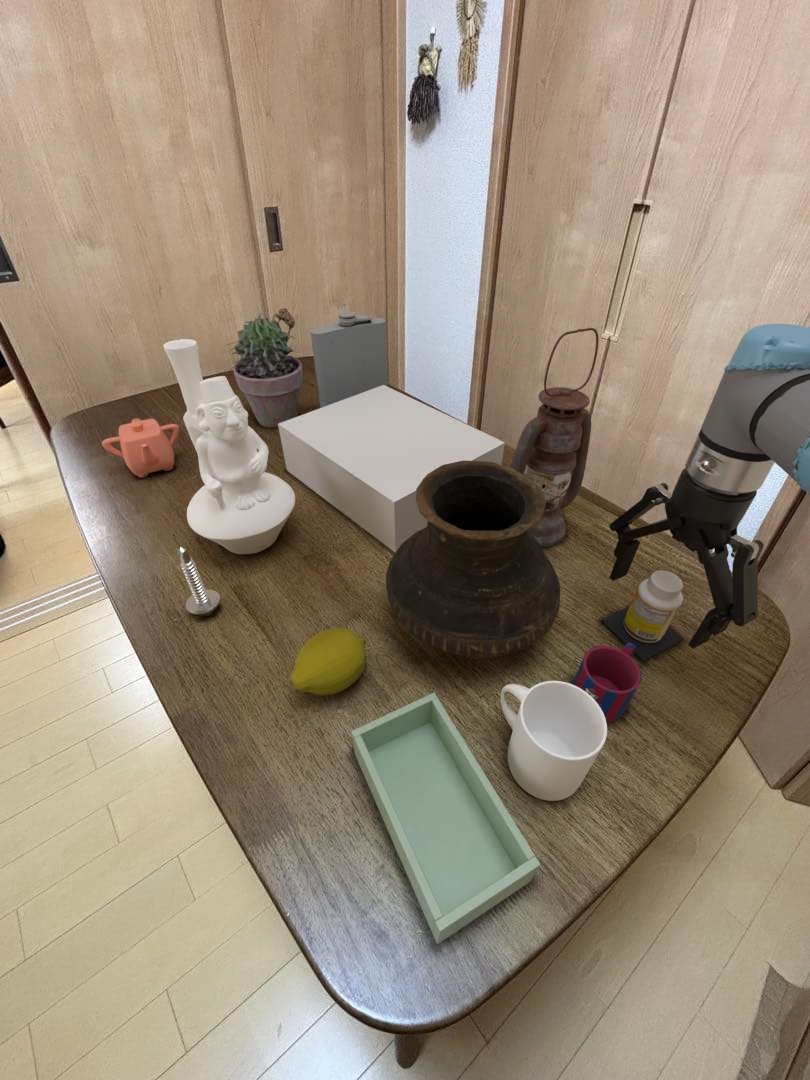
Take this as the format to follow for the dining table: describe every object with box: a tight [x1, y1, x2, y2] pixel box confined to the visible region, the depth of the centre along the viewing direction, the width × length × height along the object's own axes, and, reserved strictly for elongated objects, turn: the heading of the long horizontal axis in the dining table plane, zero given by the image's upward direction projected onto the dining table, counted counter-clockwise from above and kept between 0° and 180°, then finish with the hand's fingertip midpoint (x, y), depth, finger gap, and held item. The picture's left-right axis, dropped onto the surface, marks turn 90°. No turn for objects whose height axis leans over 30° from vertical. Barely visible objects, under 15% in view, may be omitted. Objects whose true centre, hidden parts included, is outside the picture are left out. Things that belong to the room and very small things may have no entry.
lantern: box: [509, 327, 599, 549], centre depth 76 cm, size 11×16×35 cm
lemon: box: [289, 626, 367, 696], centre depth 62 cm, size 11×8×8 cm
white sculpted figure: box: [162, 338, 296, 555], centre depth 77 cm, size 18×22×32 cm
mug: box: [500, 680, 608, 802], centre depth 53 cm, size 9×12×11 cm
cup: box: [571, 642, 642, 724], centre depth 61 cm, size 7×10×7 cm
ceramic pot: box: [385, 460, 561, 659], centre depth 65 cm, size 24×24×22 cm
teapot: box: [101, 418, 180, 478], centre depth 101 cm, size 14×12×10 cm
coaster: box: [600, 606, 685, 663], centre depth 70 cm, size 8×8×1 cm
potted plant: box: [224, 308, 304, 429], centre depth 112 cm, size 18×20×25 cm
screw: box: [176, 546, 221, 618], centre depth 69 cm, size 13×5×5 cm
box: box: [277, 385, 506, 553], centre depth 96 cm, size 28×35×11 cm
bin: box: [351, 692, 541, 945], centre depth 50 cm, size 20×11×6 cm, turn 27°
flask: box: [309, 310, 388, 409], centre depth 112 cm, size 17×5×25 cm, turn 119°
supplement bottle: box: [624, 569, 684, 643], centre depth 67 cm, size 6×6×10 cm
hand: (654, 607), depth 66 cm, fingers open, 13 cm apart
